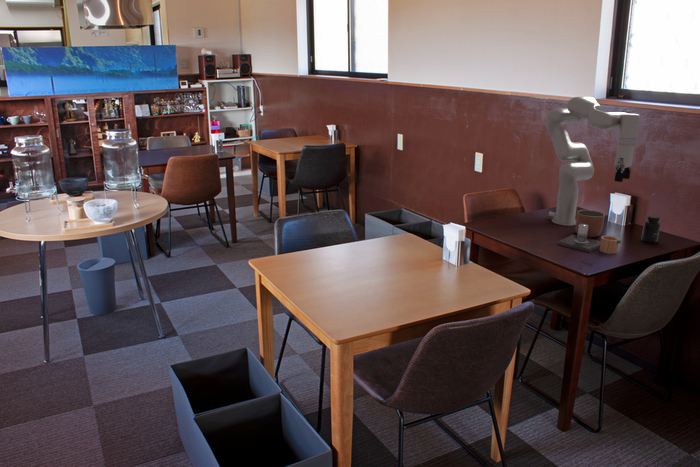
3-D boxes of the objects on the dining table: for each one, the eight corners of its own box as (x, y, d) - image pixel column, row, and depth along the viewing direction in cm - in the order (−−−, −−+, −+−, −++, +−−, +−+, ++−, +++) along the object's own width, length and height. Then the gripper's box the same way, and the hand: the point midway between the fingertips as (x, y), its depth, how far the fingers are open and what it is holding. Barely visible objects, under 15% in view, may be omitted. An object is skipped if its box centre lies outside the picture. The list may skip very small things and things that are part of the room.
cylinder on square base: (557, 244, 250) (560, 224, 247) (571, 237, 260) (574, 218, 257) (590, 252, 240) (593, 232, 237) (603, 245, 250) (607, 225, 247)
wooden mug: (596, 250, 242) (598, 238, 240) (603, 247, 247) (605, 234, 245) (615, 255, 237) (617, 242, 235) (621, 251, 241) (623, 238, 240)
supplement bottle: (655, 244, 252) (660, 219, 248) (639, 241, 256) (644, 216, 252) (658, 240, 257) (663, 216, 253) (642, 237, 261) (646, 213, 257)
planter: (607, 237, 261) (611, 215, 258) (587, 240, 257) (590, 217, 253) (587, 230, 272) (591, 208, 269) (568, 232, 268) (571, 211, 264)
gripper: (624, 139, 251) (619, 176, 255) (611, 143, 239) (606, 181, 243) (642, 141, 246) (636, 178, 250) (630, 144, 234) (624, 183, 238)
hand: (622, 179), depth 247 cm, fingers open, 9 cm apart
